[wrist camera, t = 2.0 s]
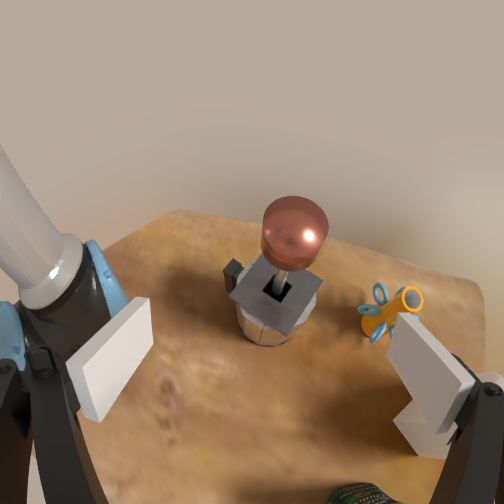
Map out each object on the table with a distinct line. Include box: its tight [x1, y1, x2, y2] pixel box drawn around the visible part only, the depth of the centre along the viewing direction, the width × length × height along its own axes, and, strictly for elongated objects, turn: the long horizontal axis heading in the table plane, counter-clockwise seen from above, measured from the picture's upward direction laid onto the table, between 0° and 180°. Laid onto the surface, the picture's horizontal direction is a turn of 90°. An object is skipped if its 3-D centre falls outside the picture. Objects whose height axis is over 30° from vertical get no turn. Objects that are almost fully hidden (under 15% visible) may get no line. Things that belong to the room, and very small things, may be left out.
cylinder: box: [357, 283, 423, 343], centre depth 45 cm, size 12×10×15 cm
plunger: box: [261, 196, 329, 301], centre depth 34 cm, size 6×6×22 cm
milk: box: [392, 372, 504, 459], centre depth 30 cm, size 12×12×26 cm
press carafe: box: [223, 253, 323, 347], centre depth 45 cm, size 14×11×15 cm
